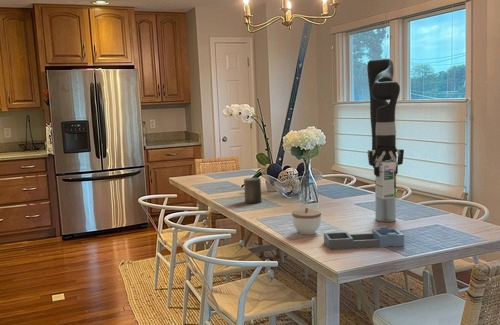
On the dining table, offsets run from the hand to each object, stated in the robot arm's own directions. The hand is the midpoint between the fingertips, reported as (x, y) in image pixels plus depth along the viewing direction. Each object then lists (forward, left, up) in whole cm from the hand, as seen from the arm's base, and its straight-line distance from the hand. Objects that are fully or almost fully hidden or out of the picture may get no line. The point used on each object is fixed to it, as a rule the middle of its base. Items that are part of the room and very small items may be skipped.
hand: (385, 175), depth 187 cm
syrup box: (0, 0, -9) cm, 9 cm away
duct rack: (0, -9, -27) cm, 29 cm away
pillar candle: (-89, -48, -28) cm, 105 cm away
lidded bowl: (-21, -28, -28) cm, 45 cm away
